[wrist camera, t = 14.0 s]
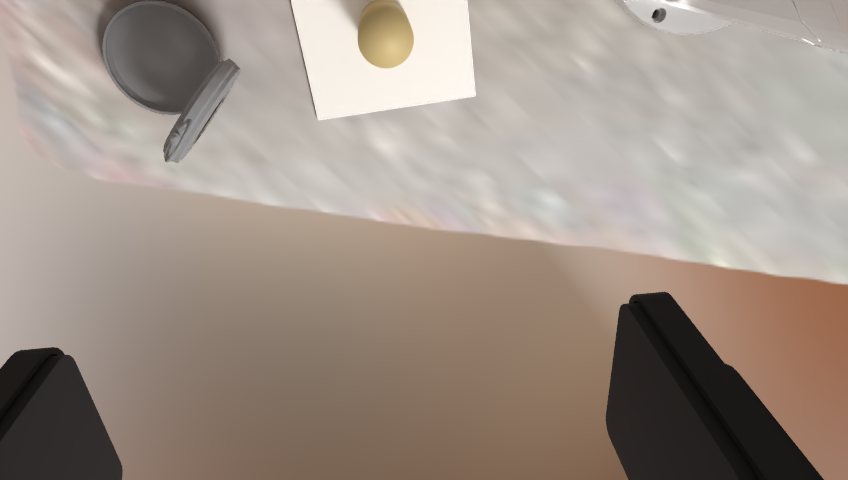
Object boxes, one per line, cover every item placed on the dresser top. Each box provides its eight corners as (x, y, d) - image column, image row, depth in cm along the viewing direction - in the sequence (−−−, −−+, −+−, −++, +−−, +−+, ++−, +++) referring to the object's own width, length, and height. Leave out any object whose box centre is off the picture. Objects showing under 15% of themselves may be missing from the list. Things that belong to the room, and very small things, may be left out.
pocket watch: (99, -6, 34) (4, 19, 25) (249, 6, 35) (207, 34, 26) (122, 130, 38) (46, 194, 29) (256, 138, 38) (222, 202, 30)
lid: (457, -85, 34) (473, -86, 29) (473, 93, 39) (489, 119, 34) (279, -58, 34) (263, -54, 29) (318, 116, 39) (311, 146, 34)
